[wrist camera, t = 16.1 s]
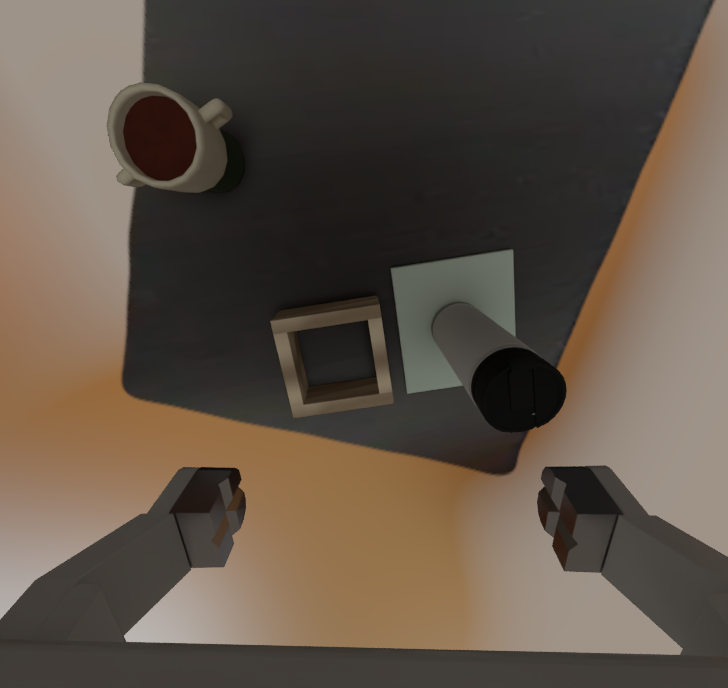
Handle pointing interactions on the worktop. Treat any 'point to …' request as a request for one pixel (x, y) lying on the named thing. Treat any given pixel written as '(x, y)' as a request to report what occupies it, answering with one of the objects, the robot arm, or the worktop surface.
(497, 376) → the travel mug
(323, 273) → the worktop surface
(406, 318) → the sage mat
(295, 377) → the birch holder
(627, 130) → the worktop surface
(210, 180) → the character mug
